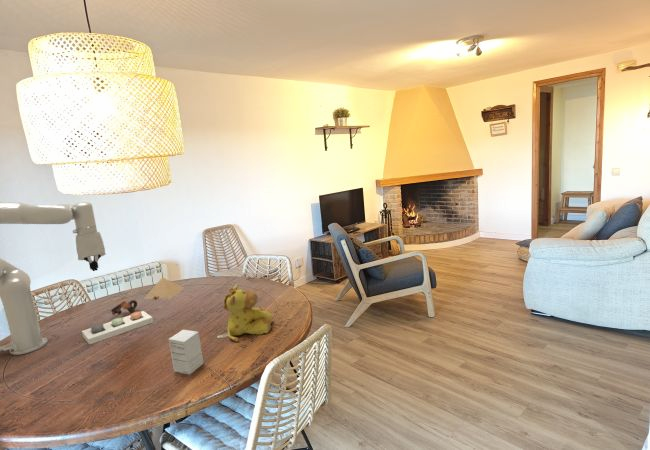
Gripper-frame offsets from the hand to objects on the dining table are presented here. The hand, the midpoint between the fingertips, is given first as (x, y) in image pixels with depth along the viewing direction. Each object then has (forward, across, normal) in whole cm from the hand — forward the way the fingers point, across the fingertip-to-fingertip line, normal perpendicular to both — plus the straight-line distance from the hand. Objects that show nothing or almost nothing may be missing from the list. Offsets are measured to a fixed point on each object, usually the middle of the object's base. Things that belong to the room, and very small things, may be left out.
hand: (94, 270), depth 167 cm
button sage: (+26, +3, -9) cm, 28 cm away
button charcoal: (+26, -5, -9) cm, 28 cm away
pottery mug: (+27, +11, +6) cm, 30 cm away
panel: (+27, +3, -10) cm, 29 cm away
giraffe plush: (+28, +40, -58) cm, 76 cm away
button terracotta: (+26, +11, -10) cm, 30 cm away
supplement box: (+27, +10, -67) cm, 73 cm away
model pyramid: (+28, +35, +20) cm, 49 cm away
